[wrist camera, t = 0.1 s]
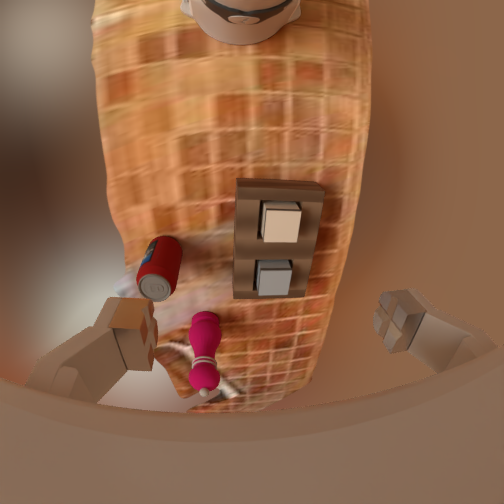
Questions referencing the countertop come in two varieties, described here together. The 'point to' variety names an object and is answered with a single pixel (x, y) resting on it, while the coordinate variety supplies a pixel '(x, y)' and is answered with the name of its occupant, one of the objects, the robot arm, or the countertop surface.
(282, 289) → the slate key
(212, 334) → the pepper mill
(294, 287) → the frame
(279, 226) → the cream key
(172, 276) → the beverage can
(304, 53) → the countertop surface
